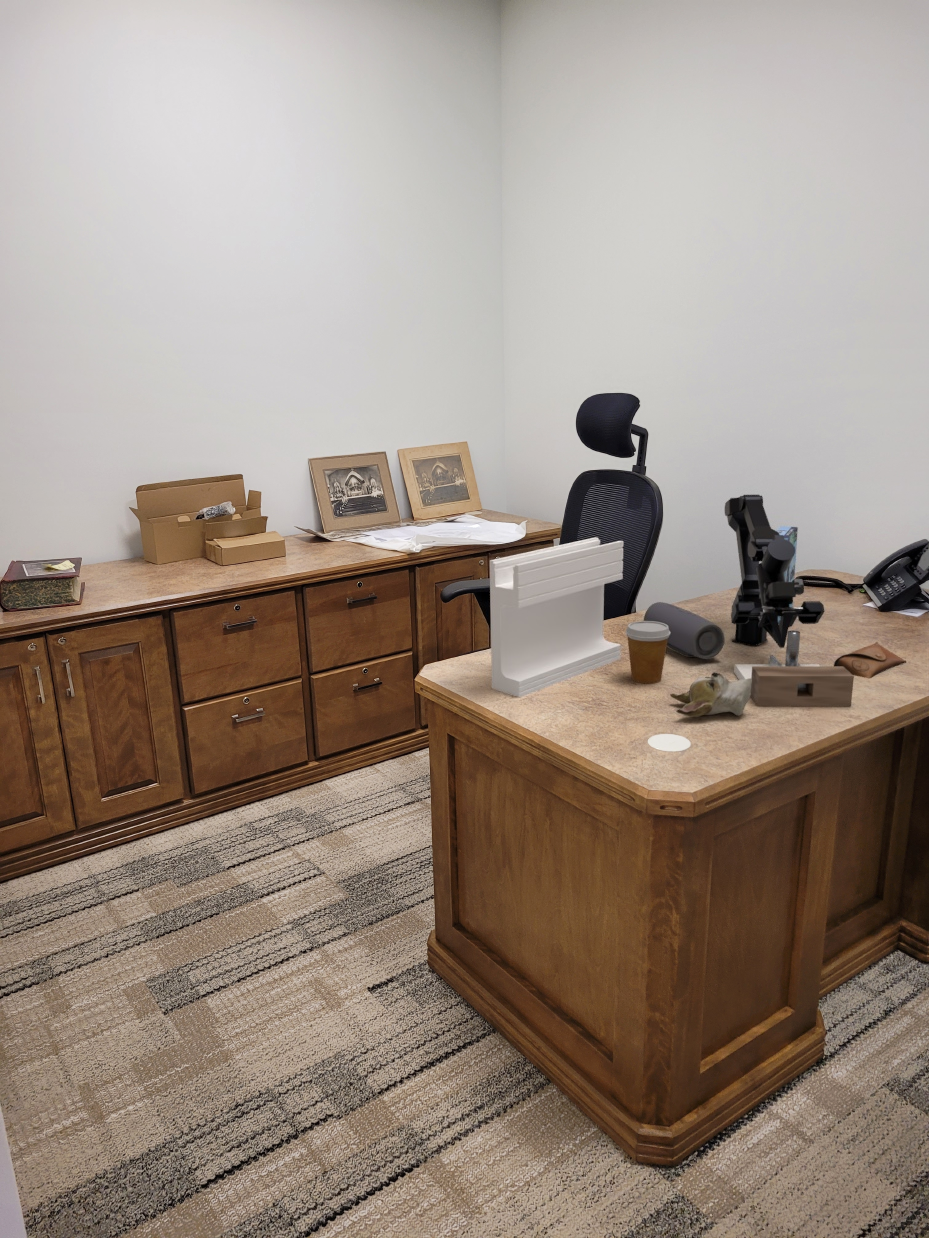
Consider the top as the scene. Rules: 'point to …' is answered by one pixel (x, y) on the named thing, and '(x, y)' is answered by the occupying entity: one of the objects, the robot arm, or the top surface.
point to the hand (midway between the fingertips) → (782, 647)
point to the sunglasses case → (869, 661)
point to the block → (551, 614)
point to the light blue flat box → (791, 536)
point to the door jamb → (783, 682)
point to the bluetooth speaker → (687, 631)
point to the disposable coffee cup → (647, 650)
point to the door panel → (746, 669)
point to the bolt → (793, 652)
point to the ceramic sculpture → (715, 696)
